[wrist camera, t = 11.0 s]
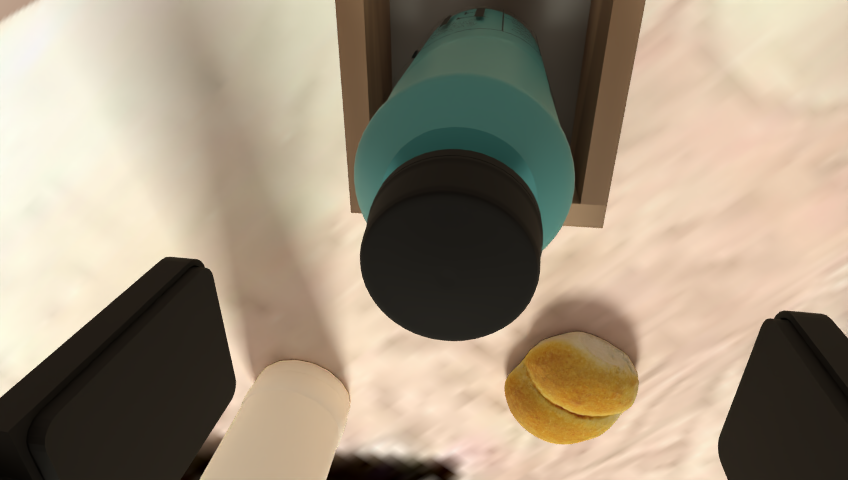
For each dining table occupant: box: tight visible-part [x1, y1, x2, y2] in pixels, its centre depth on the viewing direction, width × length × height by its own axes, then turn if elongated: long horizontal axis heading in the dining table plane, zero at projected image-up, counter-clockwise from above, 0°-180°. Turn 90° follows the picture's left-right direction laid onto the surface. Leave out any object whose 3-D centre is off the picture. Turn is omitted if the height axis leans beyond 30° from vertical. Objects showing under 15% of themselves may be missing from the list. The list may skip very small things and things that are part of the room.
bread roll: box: [505, 332, 639, 444], centre depth 37 cm, size 8×9×4 cm
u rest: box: [335, 0, 645, 228], centre depth 26 cm, size 12×12×6 cm
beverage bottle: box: [354, 5, 575, 341], centre depth 20 cm, size 6×7×20 cm
